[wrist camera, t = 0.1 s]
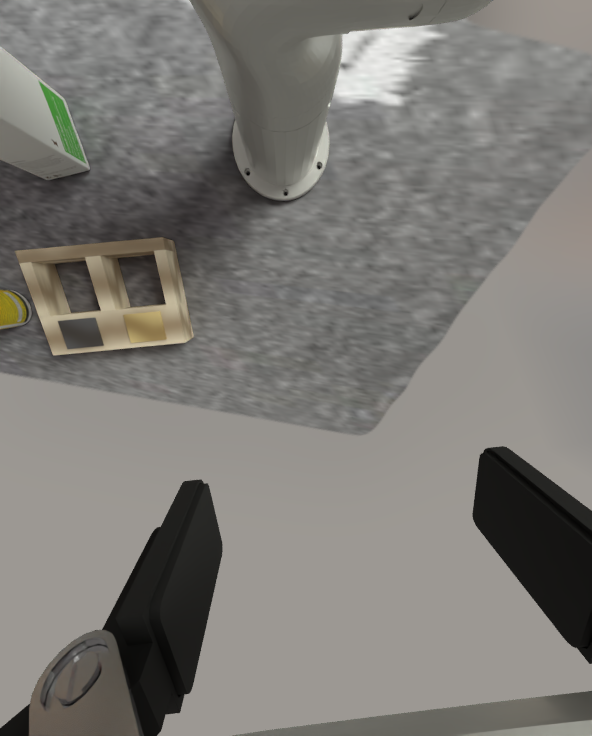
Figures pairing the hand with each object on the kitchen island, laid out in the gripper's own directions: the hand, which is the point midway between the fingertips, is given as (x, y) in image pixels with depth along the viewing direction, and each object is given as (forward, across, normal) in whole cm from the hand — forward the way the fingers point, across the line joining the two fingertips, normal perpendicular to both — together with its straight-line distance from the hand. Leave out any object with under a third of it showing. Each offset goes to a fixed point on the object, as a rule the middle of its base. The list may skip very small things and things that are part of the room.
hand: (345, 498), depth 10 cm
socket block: (+37, +26, -7) cm, 45 cm away
